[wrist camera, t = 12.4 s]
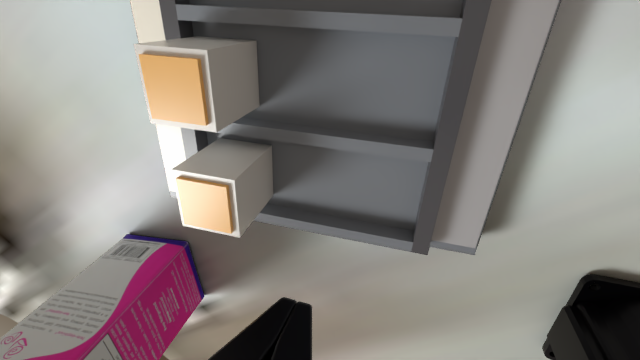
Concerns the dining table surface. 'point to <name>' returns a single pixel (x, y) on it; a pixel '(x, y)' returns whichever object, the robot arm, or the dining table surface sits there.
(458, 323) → the dining table surface
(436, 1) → the switch bank
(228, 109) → the switch tab
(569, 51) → the dining table surface
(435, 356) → the dining table surface
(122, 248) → the supplement box
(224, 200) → the switch tab
